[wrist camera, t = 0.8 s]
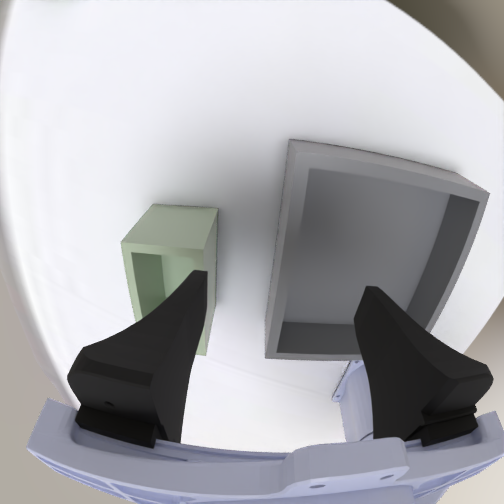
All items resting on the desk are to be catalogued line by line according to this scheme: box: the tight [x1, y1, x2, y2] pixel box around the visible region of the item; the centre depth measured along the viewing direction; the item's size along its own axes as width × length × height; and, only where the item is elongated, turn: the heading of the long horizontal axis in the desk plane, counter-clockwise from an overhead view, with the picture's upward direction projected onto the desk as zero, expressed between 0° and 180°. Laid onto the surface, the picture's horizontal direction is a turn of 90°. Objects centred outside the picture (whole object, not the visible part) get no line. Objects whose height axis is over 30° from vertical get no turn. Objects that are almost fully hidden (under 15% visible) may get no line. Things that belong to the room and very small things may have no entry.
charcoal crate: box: [265, 139, 490, 361], centre depth 21 cm, size 16×14×4 cm
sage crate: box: [121, 204, 218, 356], centre depth 21 cm, size 9×5×6 cm, turn 175°
